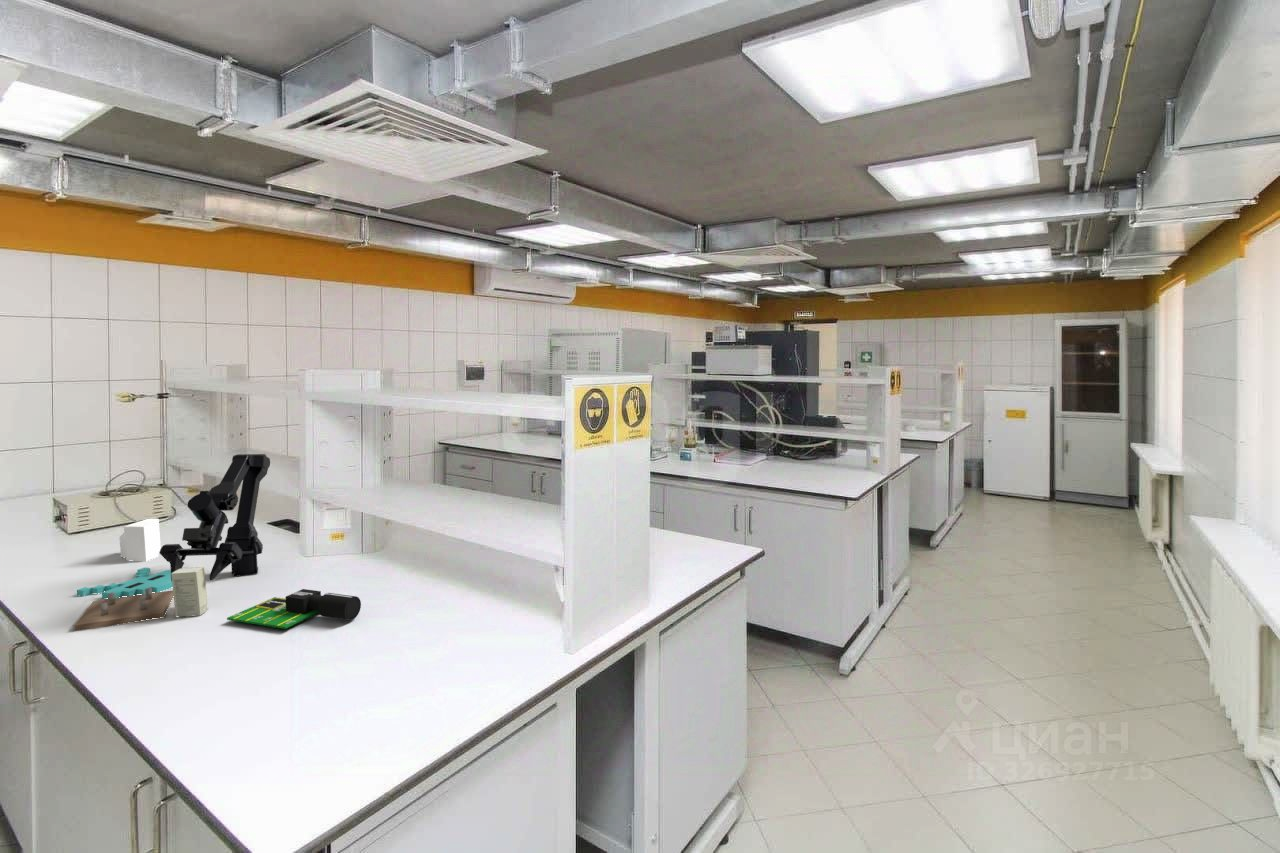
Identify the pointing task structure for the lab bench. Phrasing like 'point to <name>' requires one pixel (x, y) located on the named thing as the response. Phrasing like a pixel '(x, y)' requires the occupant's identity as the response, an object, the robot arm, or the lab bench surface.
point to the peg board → (124, 609)
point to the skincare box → (189, 591)
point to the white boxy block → (141, 540)
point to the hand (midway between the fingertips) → (191, 580)
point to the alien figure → (133, 585)
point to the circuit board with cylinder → (300, 609)
